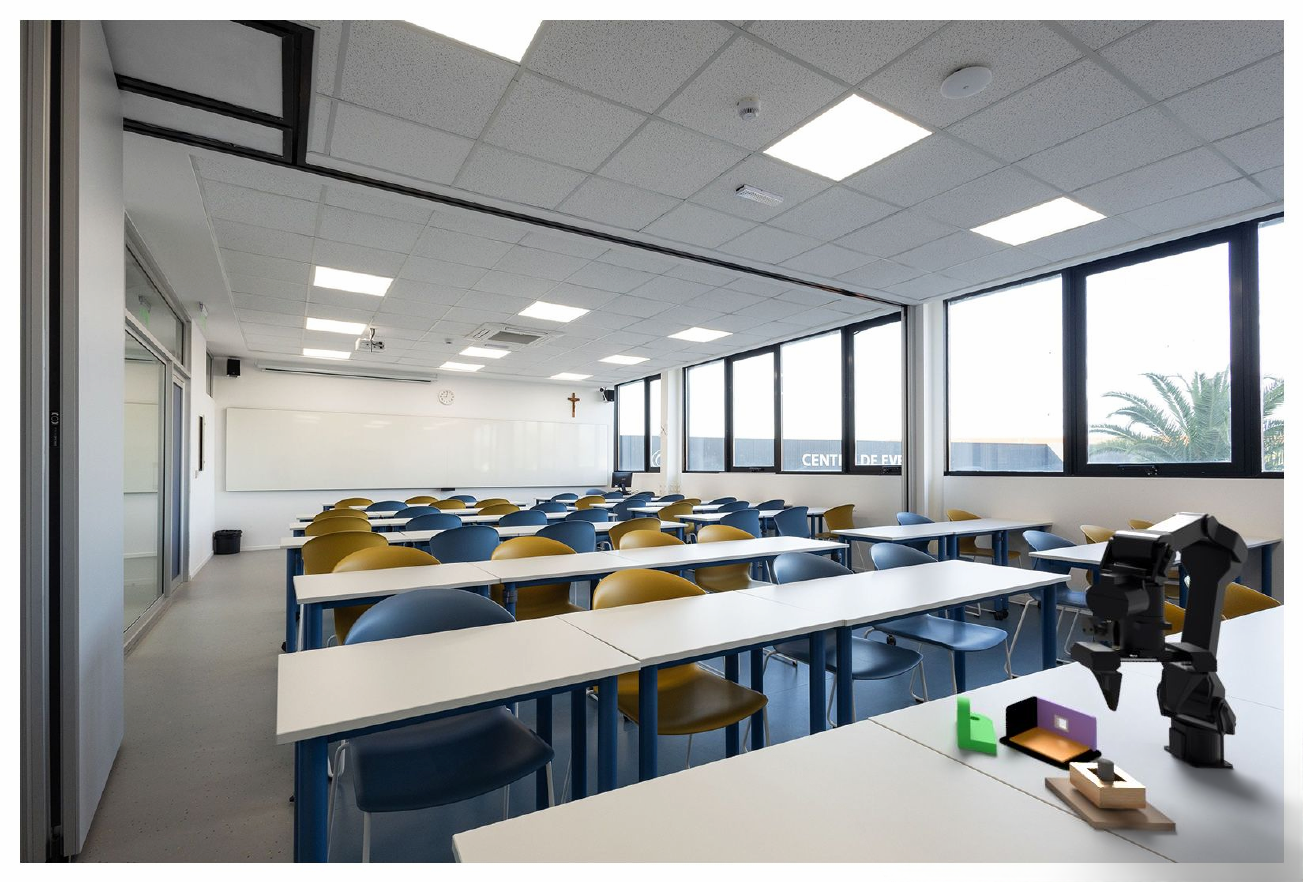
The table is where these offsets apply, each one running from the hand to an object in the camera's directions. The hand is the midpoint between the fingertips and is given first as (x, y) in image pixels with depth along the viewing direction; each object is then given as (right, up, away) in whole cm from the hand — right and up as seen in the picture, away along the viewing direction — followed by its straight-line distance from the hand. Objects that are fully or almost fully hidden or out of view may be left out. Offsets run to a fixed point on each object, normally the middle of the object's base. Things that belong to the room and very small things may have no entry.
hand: (1142, 710), depth 93 cm
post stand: (-10, -12, -6) cm, 17 cm away
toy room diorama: (-7, -13, +12) cm, 19 cm away
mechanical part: (-17, -13, +17) cm, 27 cm away
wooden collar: (-10, -10, -6) cm, 15 cm away
